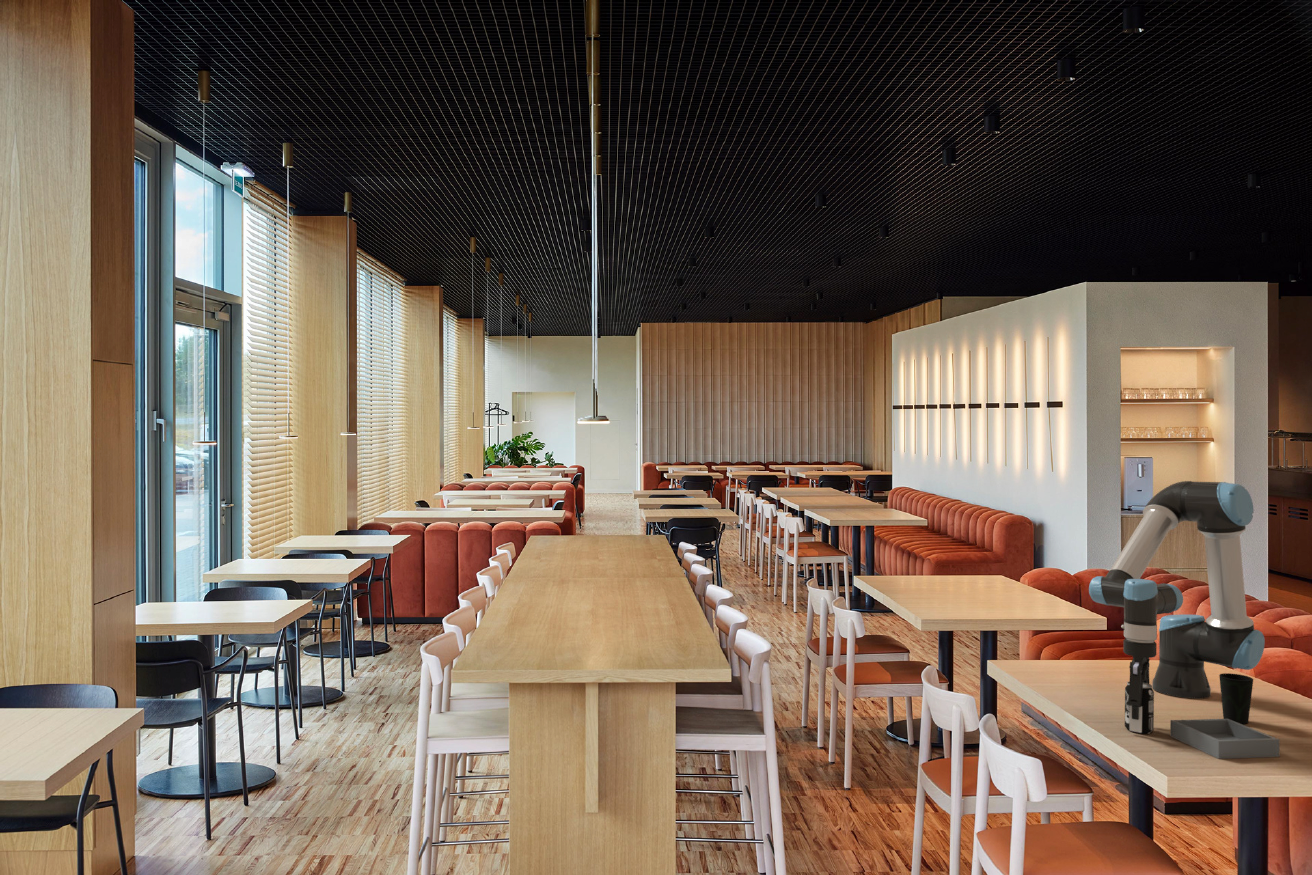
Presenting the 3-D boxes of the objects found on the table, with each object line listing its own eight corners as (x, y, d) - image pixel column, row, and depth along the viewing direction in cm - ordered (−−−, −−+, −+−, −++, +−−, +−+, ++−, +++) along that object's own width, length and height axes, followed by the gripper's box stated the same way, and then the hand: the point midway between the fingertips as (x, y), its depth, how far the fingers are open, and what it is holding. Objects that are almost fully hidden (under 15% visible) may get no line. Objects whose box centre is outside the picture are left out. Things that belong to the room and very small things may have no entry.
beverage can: (1119, 726, 230) (1119, 680, 231) (1142, 726, 231) (1143, 680, 231) (1134, 734, 224) (1135, 687, 224) (1159, 734, 224) (1159, 687, 225)
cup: (1242, 727, 231) (1242, 681, 231) (1212, 719, 238) (1213, 674, 238) (1259, 723, 235) (1259, 678, 235) (1229, 715, 242) (1229, 671, 242)
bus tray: (1227, 734, 225) (1227, 718, 225) (1279, 756, 209) (1279, 739, 209) (1170, 736, 223) (1170, 720, 223) (1218, 758, 207) (1218, 741, 207)
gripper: (1131, 630, 239) (1130, 713, 238) (1115, 644, 221) (1114, 733, 221) (1162, 634, 234) (1162, 719, 234) (1149, 649, 217) (1148, 740, 217)
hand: (1139, 726), depth 227 cm, fingers open, 9 cm apart
